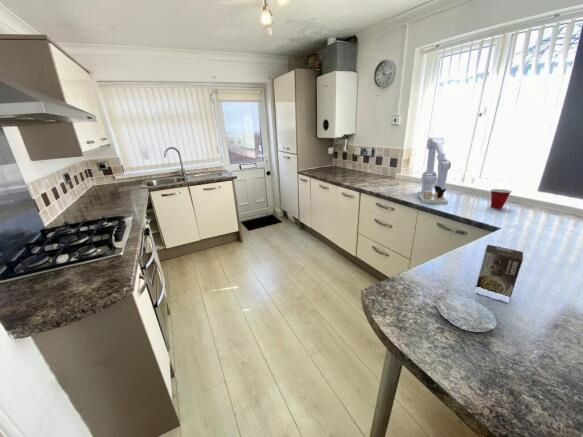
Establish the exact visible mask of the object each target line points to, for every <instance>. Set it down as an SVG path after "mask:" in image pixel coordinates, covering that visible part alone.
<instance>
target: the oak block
mask: <svg viewBox="0 0 583 437" xmlns="http://www.w3.org/2000/svg"><path fill="white" fill-rule="evenodd" d="M432 194H433V191H432V192H431V191H424V198H425V199H431V198H432Z"/></svg>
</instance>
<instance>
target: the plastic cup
mask: <svg viewBox="0 0 583 437" xmlns="http://www.w3.org/2000/svg"><path fill="white" fill-rule="evenodd" d="M490 192H491V193H490V194H491V197H490V198H491V199H490V202H491V204H490V207H491V208H494V209H499V210H500V209H502V208H503V207H504V205H505V204H506V202H507V200H508V198H509V196H510V195H511V193H512V190H509V189H500V188H499V189H498V188H493V189H490Z"/></svg>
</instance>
